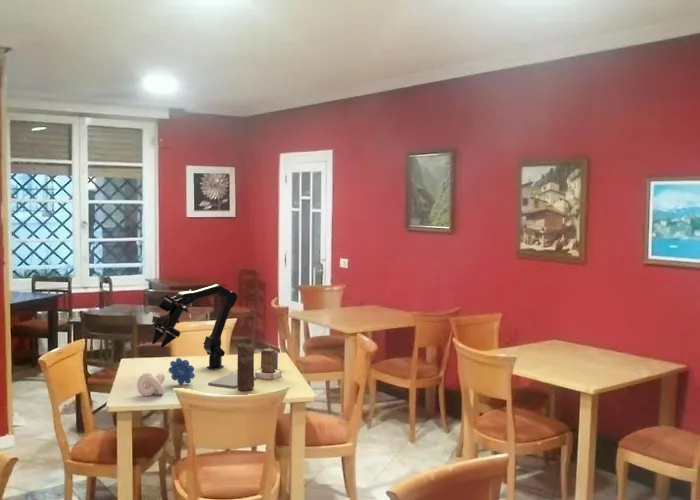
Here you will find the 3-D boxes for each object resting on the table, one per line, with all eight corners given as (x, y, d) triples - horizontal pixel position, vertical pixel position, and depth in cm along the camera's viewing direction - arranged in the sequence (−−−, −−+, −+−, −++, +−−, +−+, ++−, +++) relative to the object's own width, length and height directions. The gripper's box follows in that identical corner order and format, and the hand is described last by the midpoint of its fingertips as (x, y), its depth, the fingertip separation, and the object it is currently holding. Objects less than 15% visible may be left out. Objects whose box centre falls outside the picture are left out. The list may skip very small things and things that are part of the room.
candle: (237, 386, 312) (238, 342, 311) (254, 386, 313) (254, 342, 312) (236, 391, 305) (236, 346, 303) (253, 391, 305) (253, 346, 304)
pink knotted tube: (149, 389, 306) (149, 369, 305) (173, 392, 302) (173, 371, 302) (133, 396, 295) (133, 375, 294) (158, 398, 291) (158, 377, 291)
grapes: (166, 386, 311) (166, 360, 310) (169, 382, 317) (169, 356, 317) (193, 386, 312) (193, 360, 311) (195, 382, 318) (195, 356, 318)
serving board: (232, 375, 333) (232, 373, 333) (257, 378, 328) (257, 376, 328) (208, 384, 315) (208, 382, 315) (234, 388, 310) (234, 386, 310)
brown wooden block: (265, 375, 334) (266, 348, 334) (275, 376, 332) (275, 349, 332) (261, 377, 331) (261, 350, 330) (270, 378, 329) (271, 351, 328)
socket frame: (264, 373, 337) (264, 368, 337) (281, 375, 334) (281, 370, 333) (255, 377, 329) (255, 372, 329) (272, 379, 326) (272, 374, 326)
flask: (278, 368, 348) (278, 347, 347) (275, 370, 345) (276, 348, 345) (262, 367, 351) (262, 346, 351) (259, 368, 349) (259, 347, 348)
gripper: (151, 306, 335) (134, 334, 330) (169, 310, 321) (152, 341, 316) (169, 316, 341) (153, 345, 337) (187, 321, 327) (171, 351, 322)
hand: (157, 345), depth 328 cm, fingers open, 9 cm apart
